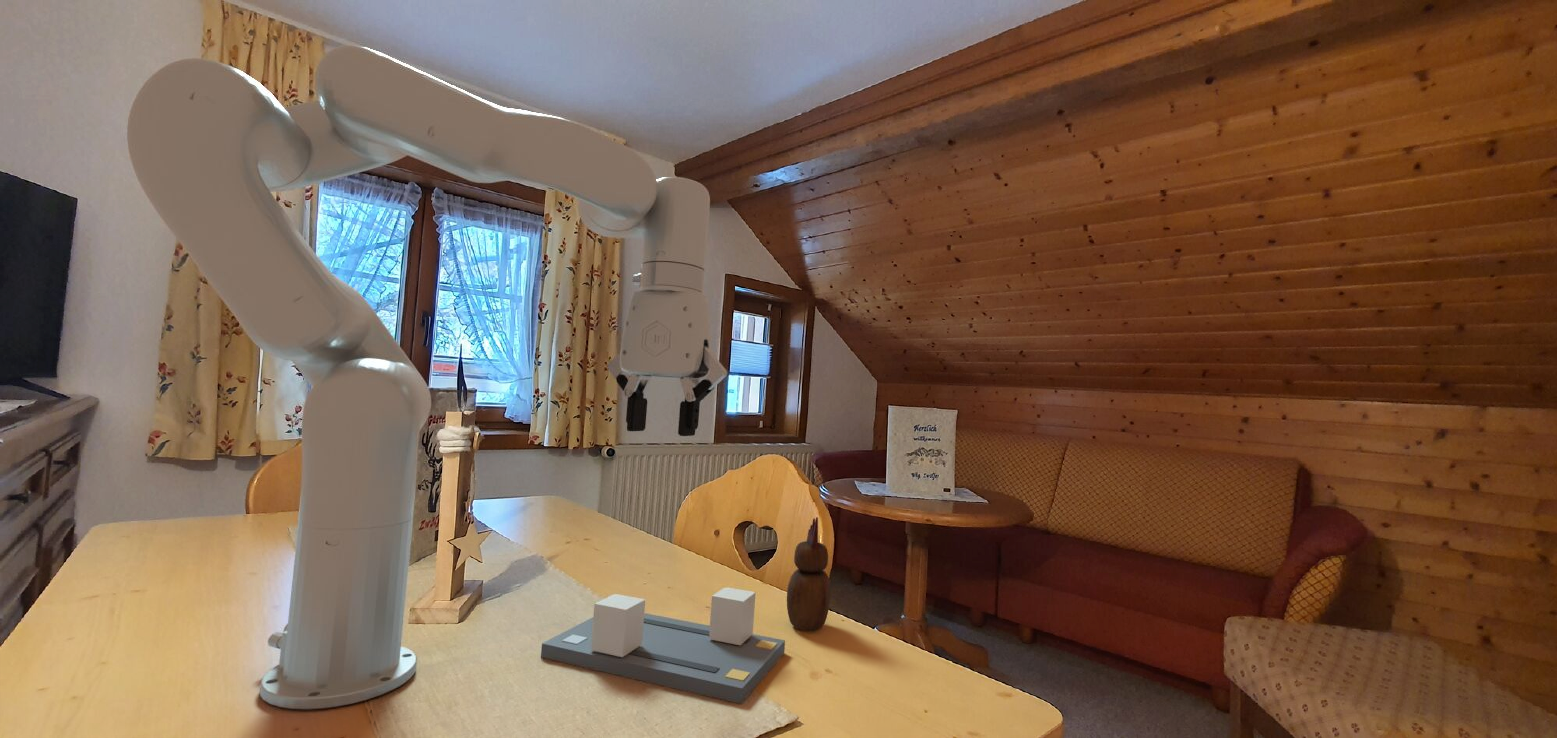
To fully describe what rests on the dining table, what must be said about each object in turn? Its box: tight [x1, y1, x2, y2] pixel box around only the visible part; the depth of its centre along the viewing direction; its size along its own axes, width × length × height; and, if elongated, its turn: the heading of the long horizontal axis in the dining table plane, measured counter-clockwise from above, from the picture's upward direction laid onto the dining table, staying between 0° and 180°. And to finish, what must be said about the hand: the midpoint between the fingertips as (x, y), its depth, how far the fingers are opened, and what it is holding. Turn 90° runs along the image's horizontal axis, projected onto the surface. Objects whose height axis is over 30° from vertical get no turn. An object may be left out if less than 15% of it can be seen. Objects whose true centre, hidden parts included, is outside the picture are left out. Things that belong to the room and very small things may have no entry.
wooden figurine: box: [786, 516, 832, 632], centre depth 85 cm, size 7×6×15 cm
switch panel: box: [540, 612, 786, 704], centre depth 73 cm, size 24×14×2 cm, turn 72°
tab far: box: [709, 586, 756, 645], centre depth 75 cm, size 4×4×5 cm
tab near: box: [591, 593, 646, 657], centre depth 70 cm, size 4×4×5 cm
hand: (661, 431), depth 75 cm, fingers open, 6 cm apart
